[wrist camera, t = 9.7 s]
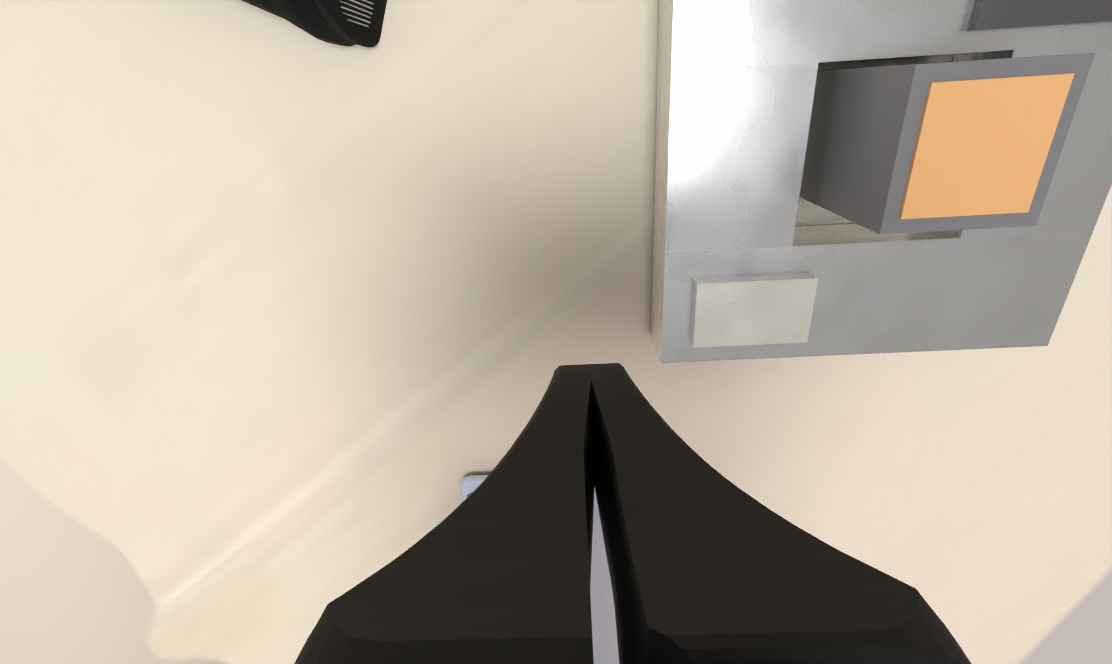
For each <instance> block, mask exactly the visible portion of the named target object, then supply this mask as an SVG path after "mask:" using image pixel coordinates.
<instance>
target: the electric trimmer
mask: <svg viewBox="0 0 1112 664" xmlns="http://www.w3.org/2000/svg"><path fill="white" fill-rule="evenodd" d="M242 1H244V2H247V3H249V4H251V5H254V6H256V7H258V8H261V9H263V10H265V11H268V12H270V13H272V14H275V15H277V16H279V17H282V18H284V19H286V20H288V21H289V22H291V23H293V24H294V25H296V26H298V27H299V28H301V29H302V30H304V31H306V32H307V33H309V34H311V35H312V36H314V37H316V38H317V39H320V40H323V41H325V42H328V43H334V44H339V45H344V46H352V45H355V44H358V45H361V46H365V47H373V46H374V45H376V44H377V43H378V41H379V38H380V34H381V29H382V24H383V19H384V13H385V8H386V2H387V0H242Z"/></svg>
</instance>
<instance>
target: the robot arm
mask: <svg viewBox="0 0 1112 664" xmlns="http://www.w3.org/2000/svg"><path fill="white" fill-rule="evenodd" d="M471 492H472V493H471ZM461 493H462V499H463V502H462V503H461V504H460V505H459V506H458V507H457V508H456V509H455V510H454V511H453V512H452V513H451V514H450V515H449V516H448V517H447V518H446V519H444V520H443V521H442V522H441V523H440V524H439V525H438V526H436V527H435V528H434V529H433V530H431V531H430V532H429V533H428V534H427V535H425V536H424V537H423V538H422V539H421V540H419V541H418V542H417V543H416V544H414V545H413V546H412V547H411V548H409V549H408V550H407V551H405V552H404V553H403V554H401V555H400V556H399V557H397V558H396V559H395V560H393V561H392V562H391V563H389V564H388V565H386V566H385V567H383V568H382V569H380V570H379V571H377V572H376V573H374V574H373V575H371V576H370V577H368V578H367V579H365V580H364V581H362V582H361V583H359V584H358V585H357V586H355V587H354V588H352V589H351V590H349V591H348V592H346V593H345V594H343V595H342V596H340V597H338V598H337V599H335V600H334V601H332V602H330V603H329V604H328V605H327V606H326V608H325V610H324V612H323V614H322V616H321V617H320V619H319V621H318V623H317V624H316V626H315V628H314V629H313V631H312V633H311V634H310V636H309V637H308V639H307V641H306V643H305V645H304V647H303V648H302V650H301V652H300V654H299V656H298V658H297V660H296V662H295V664H971V662H970V661H969V660H968V658H967V657H966V655H965V654H964V652H963V650H962V649H961V647H960V646H959V644H958V643H957V642H956V640H955V639H954V637H953V636H952V635H951V633H950V632H949V630H948V629H947V627H946V626H945V625H944V623H943V622H942V621H941V620H940V619H939V617H938V616H937V615H936V614H935V612H934V611H933V610H932V609H931V607H930V606H929V605H928V604H927V602H926V601H925V600H924V599H923V597H922V596H921V595H920V593H919V592H918V591H917V590H916V589H915V588H913V587H911V586H909V585H907V584H905V583H903V582H901V581H899V580H897V579H895V578H893V577H891V576H889V575H887V574H885V573H883V572H881V571H879V570H877V569H875V568H873V567H871V566H869V565H867V564H865V563H863V562H861V561H859V560H857V559H855V558H853V557H851V556H849V555H847V554H845V553H843V552H841V551H839V550H837V549H835V548H833V547H831V546H830V545H828V544H826V543H824V542H823V541H821V540H819V539H818V538H816V537H814V536H812V535H811V534H809V533H807V532H805V531H804V530H802V529H800V528H798V527H797V526H795V525H793V524H792V523H790V522H789V521H787V520H785V519H784V518H782V517H781V516H779V515H777V514H776V513H774V512H773V511H771V510H769V509H768V508H767V507H765V506H764V505H762V504H761V503H759V502H758V501H756V500H755V499H754V498H752V497H751V496H749V495H748V494H746V493H745V492H743V491H742V490H741V489H739V488H738V487H736V486H735V485H734V484H732V483H731V482H730V481H728V480H727V479H726V478H724V477H723V476H722V475H721V474H720V473H718V472H717V471H716V470H715V469H714V468H712V467H711V466H710V465H709V464H708V463H706V462H705V461H704V460H703V459H702V458H701V457H700V456H699V455H698V454H696V453H695V452H694V451H693V450H692V449H691V448H690V447H689V446H688V445H687V444H686V443H685V442H684V441H683V440H682V439H681V438H680V437H679V436H678V435H677V434H676V433H675V432H674V431H673V430H672V429H671V428H670V426H669V425H668V424H667V423H666V422H665V421H664V420H663V419H662V418H661V416H660V415H659V414H658V413H657V412H656V411H655V409H654V408H653V407H652V406H651V405H650V404H649V402H648V401H647V400H646V399H645V397H644V396H643V395H642V393H641V392H640V391H639V389H638V388H637V387H636V385H635V384H634V382H633V381H632V380H631V378H630V377H629V375H628V374H627V372H626V370H625V369H624V367H623V366H621V365H620V364H619V363H610V364H587V365H563V366H559V367H558V368H557V369H556V370H555V371H554V374H553V377H552V380H551V382H550V384H549V387H548V389H547V391H546V393H545V395H544V397H543V398H542V400H541V402H540V404H539V406H538V407H537V409H536V411H535V412H534V414H533V416H532V417H531V419H530V421H529V422H528V424H527V425H526V427H525V428H524V430H523V431H522V433H521V434H520V435H519V437H518V438H517V440H516V441H515V443H514V444H513V445H512V447H511V448H510V450H509V451H508V452H507V454H506V455H505V456H504V457H503V459H502V460H501V461H500V462H499V464H498V465H497V466H496V467H495V468H494V470H493V471H492V472H491V473H490V474H489V475H471V476H466V477H465V478H463V480H462V483H461ZM470 493H471V494H470Z"/></svg>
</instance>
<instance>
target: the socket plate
mask: <svg viewBox="0 0 1112 664" xmlns="http://www.w3.org/2000/svg"><path fill="white" fill-rule="evenodd" d="M1082 53H1095V56H1094V59H1093V62H1092V64H1091V67H1090V70H1089V73H1088V76H1087V79H1086V82H1085V85H1084V88H1083V91H1082V93H1081V96H1080V99H1079V102H1078V105H1077V108H1076V111H1075V114H1074V117H1073V120H1072V122H1071V125H1070V128H1069V131H1068V134H1067V137H1066V140H1065V143H1064V146H1063V149H1062V152H1061V154H1060V157H1059V160H1058V163H1057V166H1056V169H1055V172H1054V175H1053V178H1052V181H1051V183H1050V186H1049V189H1048V192H1047V195H1046V198H1045V201H1044V204H1043V207H1042V210H1041V212H1040V215H1039V218H1038V221H1037V224H1036V226H1025V227H1006V228H988V229H969V230H951V231H933V232H914V233H896V234H878V233H876V232H874V231H871V230H869V229H867V228H865V227H863V226H861V225H859V224H857V223H850V224H831V225H813V226H795V224H796V217H797V210H798V203H799V196H800V189H801V182H802V175H803V168H804V161H805V154H806V147H807V140H808V133H809V126H810V119H811V112H812V105H813V98H814V91H815V84H816V77H817V70H818V63H830V62H846V61H861V60H876V59H892V58H907V57H922V56H938V55H953V54H954V58H953V61H967V60H983V59H1000V58H1016V57H1032V56H1049V55H1065V54H1082ZM1111 185H1112V0H659V25H658V67H657V110H656V152H655V194H654V237H653V279H652V321H651V335H652V337H653V340H654V343H655V346H656V349H657V352H658V355H659V357H660V360H661V363H667V362H689V361H712V360H735V359H758V358H780V357H803V356H826V355H848V354H871V353H894V352H917V351H939V350H962V349H985V348H1008V347H1030V346H1048V343H1049V341H1050V338H1051V336H1052V333H1053V331H1054V328H1055V326H1056V323H1057V321H1058V318H1059V316H1060V313H1061V310H1062V308H1063V305H1064V303H1065V300H1066V298H1067V295H1068V293H1069V290H1070V288H1071V285H1072V283H1073V280H1074V278H1075V275H1076V273H1077V270H1078V268H1079V265H1080V263H1081V260H1082V258H1083V255H1084V253H1085V250H1086V247H1087V245H1088V242H1089V240H1090V237H1091V235H1092V232H1093V230H1094V227H1095V225H1096V222H1097V220H1098V217H1099V215H1100V212H1101V210H1102V207H1103V205H1104V202H1105V200H1106V197H1107V195H1108V192H1109V190H1110V187H1111Z"/></svg>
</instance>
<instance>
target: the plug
mask: <svg viewBox="0 0 1112 664" xmlns="http://www.w3.org/2000/svg"><path fill="white" fill-rule="evenodd" d="M1094 56H1095V53H1082V54H1065V55H1049V56H1032V57H1016V58H1000V59H983V60H967V61H951V62H934V63H919V64H904V65H889V66H874V67H859V68H844V69H829V70H817V77H816V84H815V91H814V98H813V105H812V112H811V119H810V126H809V133H808V140H807V147H806V154H805V161H804V168H803V175H802V182H801V189H800V197H802V198H804V199H806V200H808V201H810V202H812V203H814V204H817V205H819V206H821V207H823V208H825V209H827V210H829V211H831V212H833V213H836V214H838V215H840V216H842V217H844V218H846V219H848V220H850V221H852V222H855V223H857V224H859V225H861V226H863V227H865V228H867V229H869V230H871V231H874V232H876V233H878V234H896V233H914V232H933V231H951V230H969V229H988V228H1006V227H1025V226H1036V224H1037V221H1038V218H1039V215H1040V212H1041V210H1042V207H1043V204H1044V201H1045V198H1046V195H1047V192H1048V189H1049V186H1050V183H1051V181H1052V178H1053V175H1054V172H1055V169H1056V166H1057V163H1058V160H1059V157H1060V154H1061V152H1062V149H1063V146H1064V143H1065V140H1066V137H1067V134H1068V131H1069V128H1070V125H1071V122H1072V120H1073V117H1074V114H1075V111H1076V108H1077V105H1078V102H1079V99H1080V96H1081V93H1082V91H1083V88H1084V85H1085V82H1086V79H1087V76H1088V73H1089V70H1090V67H1091V64H1092V62H1093V59H1094Z"/></svg>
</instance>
